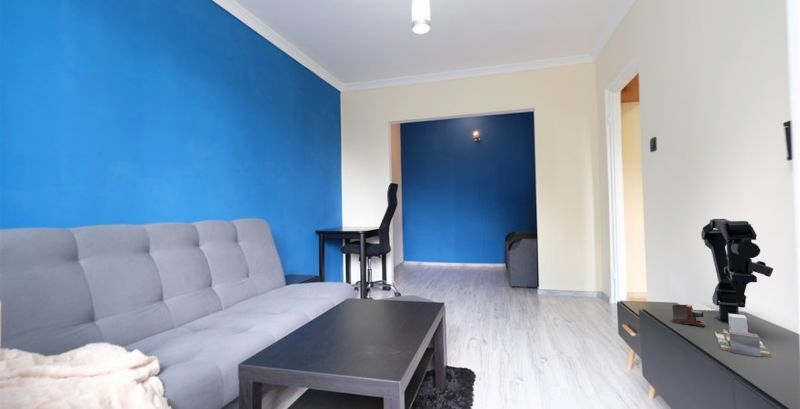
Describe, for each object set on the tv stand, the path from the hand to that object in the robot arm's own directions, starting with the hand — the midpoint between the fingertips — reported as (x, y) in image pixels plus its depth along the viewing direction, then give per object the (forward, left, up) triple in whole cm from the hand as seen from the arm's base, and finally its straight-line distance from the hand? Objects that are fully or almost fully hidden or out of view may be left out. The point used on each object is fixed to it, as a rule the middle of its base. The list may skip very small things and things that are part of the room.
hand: (740, 296), depth 123 cm
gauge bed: (+15, -5, -13) cm, 21 cm away
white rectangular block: (+13, -7, -12) cm, 19 cm away
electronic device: (-4, -15, -13) cm, 20 cm away
